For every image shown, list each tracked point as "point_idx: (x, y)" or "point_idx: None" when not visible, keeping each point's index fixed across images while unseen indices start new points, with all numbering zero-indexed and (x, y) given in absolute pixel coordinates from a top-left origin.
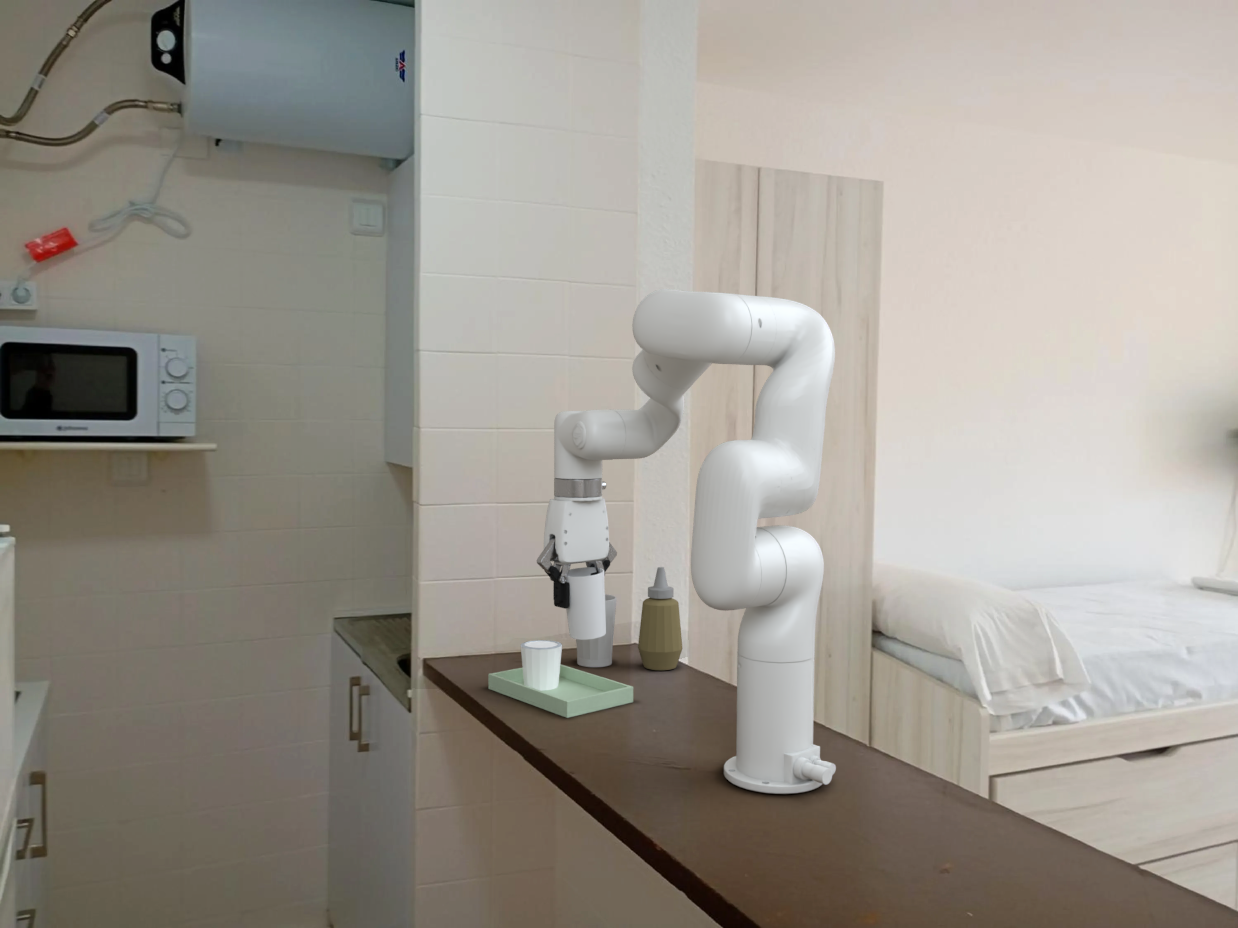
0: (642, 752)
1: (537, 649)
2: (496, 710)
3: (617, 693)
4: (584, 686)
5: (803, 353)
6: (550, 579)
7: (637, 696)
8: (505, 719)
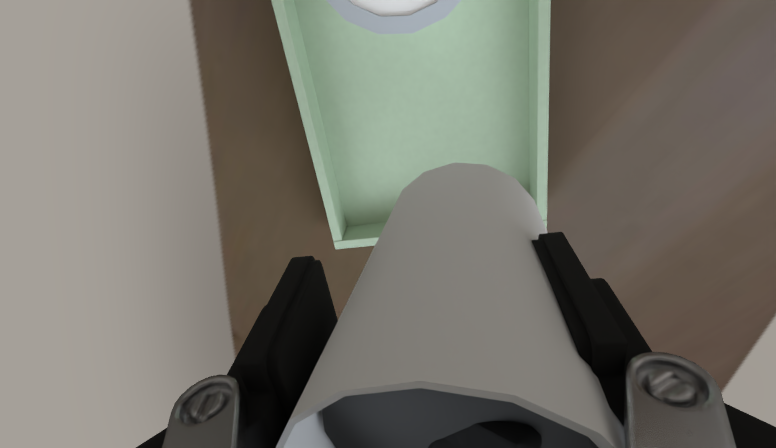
0: None
1: (339, 13)
2: (215, 97)
3: None
4: (516, 35)
5: None
6: (189, 390)
7: (582, 175)
8: (218, 172)
